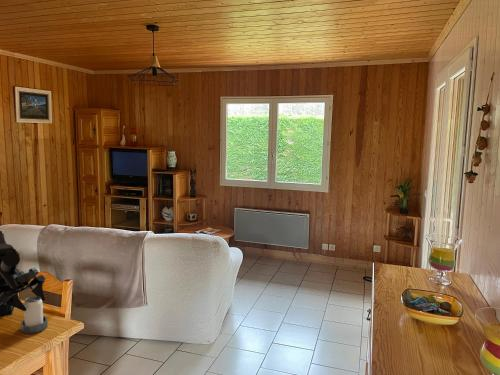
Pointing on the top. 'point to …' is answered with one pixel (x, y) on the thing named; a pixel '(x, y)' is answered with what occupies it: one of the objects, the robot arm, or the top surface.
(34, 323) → the can
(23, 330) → the collar
